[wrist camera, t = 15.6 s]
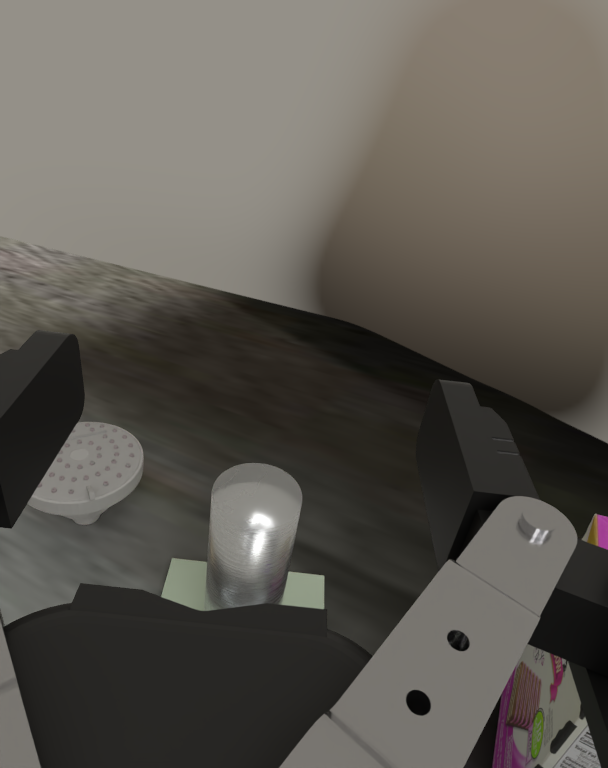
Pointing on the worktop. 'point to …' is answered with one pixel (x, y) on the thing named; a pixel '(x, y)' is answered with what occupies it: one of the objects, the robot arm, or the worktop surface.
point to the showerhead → (90, 473)
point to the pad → (190, 584)
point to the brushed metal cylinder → (251, 536)
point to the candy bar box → (546, 705)
